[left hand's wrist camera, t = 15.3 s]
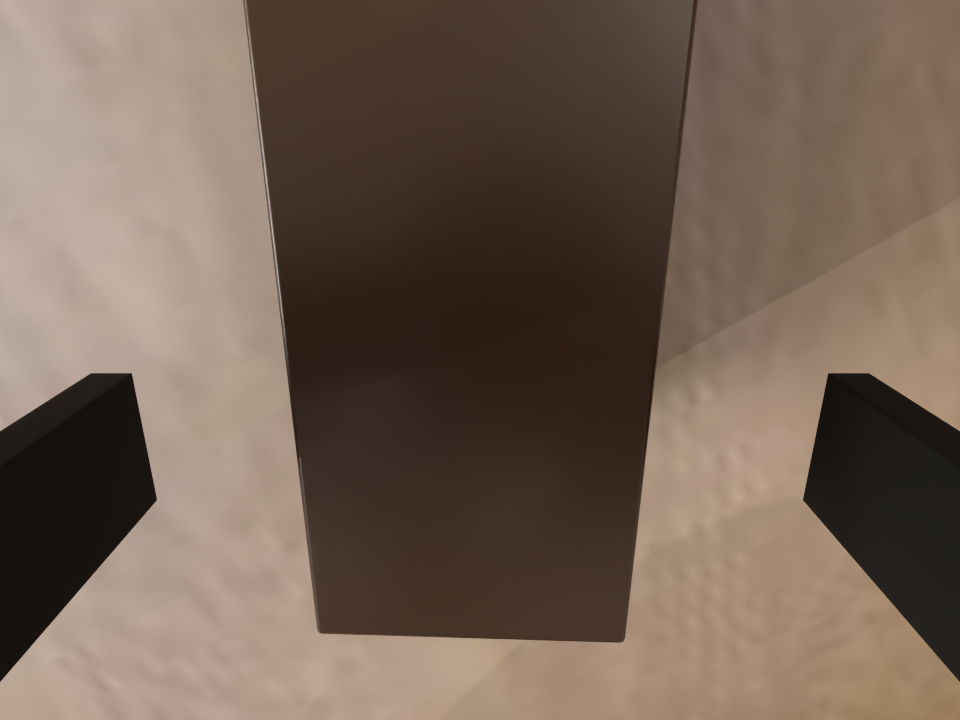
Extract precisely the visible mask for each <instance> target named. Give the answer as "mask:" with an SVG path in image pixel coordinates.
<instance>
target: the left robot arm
mask: <svg viewBox="0 0 960 720" xmlns="http://www.w3.org/2000/svg"><path fill="white" fill-rule="evenodd" d="M156 500H157V498H156V493H155V488H154V483H153V478H152V473H151V468H150V463H149V458H148V453H147V448H146V443H145V438H144V433H143V428H142V423H141V418H140V413H139V408H138V403H137V398H136V393H135V388H134V383H133V378H132V373H91V374H89V375H88V376H86V377H85V378H83V379H82V380H80V381H78V382H77V383H75V384H74V385H72V386H71V387H69V388H67V389H66V390H64V391H63V392H61V393H60V394H58V395H56V396H55V397H53V398H52V399H50V400H49V401H47V402H46V403H44V404H42V405H41V406H39V407H38V408H36V409H35V410H33V411H31V412H30V413H28V414H27V415H25V416H24V417H22V418H20V419H19V420H17V421H16V422H14V423H13V424H11V425H9V426H8V427H6V428H5V429H3V430H2V431H0V681H1V680H2V679H3V678H4V677H5V676H6V674H7V673H8V672H9V671H10V670H11V669H12V667H13V666H14V665H15V664H16V663H17V662H18V661H19V659H20V658H21V657H22V656H23V655H24V654H25V652H26V651H27V650H28V649H29V648H30V647H31V645H32V644H33V643H34V642H35V641H36V640H37V638H38V637H39V636H40V635H41V634H42V633H43V632H44V630H45V629H46V628H47V627H48V626H49V625H50V623H51V622H52V621H53V620H54V619H55V618H56V616H57V615H58V614H59V613H60V612H61V611H62V609H63V608H64V607H65V606H66V605H67V604H68V603H69V601H70V600H71V599H72V598H73V597H74V596H75V594H76V593H77V592H78V591H79V590H80V589H81V587H82V586H83V585H84V584H85V583H86V582H87V580H88V579H89V578H90V577H91V576H92V575H93V574H94V572H95V571H96V570H97V569H98V568H99V567H100V565H101V564H102V563H103V562H104V561H105V560H106V558H107V557H108V556H109V555H110V554H111V553H112V552H113V550H114V549H115V548H116V547H117V546H118V545H119V543H120V542H121V541H122V540H123V539H124V538H125V536H126V535H127V534H128V533H129V532H130V531H131V529H132V528H133V527H134V526H135V525H136V524H137V523H138V521H139V520H140V519H141V518H142V517H143V516H144V514H145V513H146V512H147V511H148V510H149V509H150V507H151V506H152V505H153V504H154V503H155V502H156ZM803 500H804V502H805V503H806V504H807V505H808V506H809V507H810V509H811V510H812V511H813V512H814V513H815V514H816V516H817V517H818V518H819V519H820V520H821V521H822V523H823V524H824V525H825V526H826V527H827V528H828V529H829V531H830V532H831V533H832V534H833V535H834V536H835V538H836V539H837V540H838V541H839V542H840V543H841V545H842V546H843V547H844V548H845V549H846V550H847V552H848V553H849V554H850V555H851V556H852V557H853V558H854V560H855V561H856V562H857V563H858V564H859V565H860V567H861V568H862V569H863V570H864V571H865V572H866V574H867V575H868V576H869V577H870V578H871V579H872V580H873V582H874V583H875V584H876V585H877V586H878V587H879V589H880V590H881V591H882V592H883V593H884V594H885V596H886V597H887V598H888V599H889V600H890V601H891V603H892V604H893V605H894V606H895V607H896V608H897V609H898V611H899V612H900V613H901V614H902V615H903V616H904V618H905V619H906V620H907V621H908V622H909V623H910V625H911V626H912V627H913V628H914V629H915V630H916V632H917V633H918V634H919V635H920V636H921V637H922V638H923V640H924V641H925V642H926V643H927V644H928V645H929V647H930V648H931V649H932V650H933V651H934V652H935V654H936V655H937V656H938V657H939V658H940V659H941V661H942V662H943V663H944V664H945V665H946V666H947V667H948V669H949V670H950V671H951V672H952V673H953V674H954V676H955V677H956V678H957V679H958V680H959V681H960V431H958V430H957V429H955V428H954V427H952V426H951V425H949V424H947V423H946V422H944V421H943V420H941V419H940V418H938V417H936V416H935V415H933V414H932V413H930V412H929V411H927V410H925V409H924V408H922V407H921V406H919V405H918V404H916V403H914V402H913V401H911V400H910V399H908V398H907V397H905V396H904V395H902V394H900V393H899V392H897V391H896V390H894V389H893V388H891V387H889V386H888V385H886V384H885V383H883V382H882V381H880V380H878V379H877V378H875V377H874V376H872V375H871V374H869V373H828V378H827V383H826V388H825V393H824V398H823V403H822V408H821V413H820V418H819V423H818V428H817V433H816V438H815V443H814V448H813V453H812V458H811V463H810V468H809V473H808V478H807V483H806V488H805V493H804V498H803Z"/></svg>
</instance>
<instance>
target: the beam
mask: <svg viewBox="0 0 960 720" xmlns="http://www.w3.org/2000/svg"><path fill="white" fill-rule="evenodd" d="M243 3H244V12H245V20H246V29H247V37H248V46H249V54H250V62H251V71H252V79H253V88H254V96H255V105H256V113H257V122H258V130H259V139H260V147H261V156H262V164H263V173H264V181H265V190H266V198H267V206H268V215H269V223H270V232H271V240H272V249H273V257H274V266H275V274H276V283H277V291H278V300H279V308H280V317H281V325H282V334H283V342H284V350H285V359H286V367H287V376H288V384H289V393H290V401H291V410H292V418H293V427H294V435H295V444H296V452H297V461H298V469H299V478H300V486H301V495H302V503H303V511H304V520H305V528H306V537H307V545H308V554H309V562H310V571H311V579H312V588H313V596H314V605H315V613H316V622H317V629H318V632H319V633H322V634H354V635H387V636H420V637H453V638H486V639H519V640H552V641H586V642H619V643H620V642H623V641H624V639H625V633H626V624H627V615H628V607H629V598H630V589H631V580H632V572H633V563H634V554H635V545H636V537H637V528H638V519H639V510H640V502H641V493H642V484H643V476H644V467H645V458H646V449H647V441H648V432H649V423H650V414H651V406H652V397H653V388H654V379H655V371H656V362H657V353H658V344H659V336H660V327H661V318H662V309H663V301H664V292H665V283H666V274H667V266H668V257H669V248H670V239H671V231H672V222H673V213H674V205H675V196H676V187H677V178H678V170H679V161H680V152H681V143H682V135H683V126H684V117H685V108H686V100H687V91H688V82H689V73H690V65H691V56H692V47H693V38H694V30H695V21H696V12H697V3H698V0H243Z"/></svg>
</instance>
